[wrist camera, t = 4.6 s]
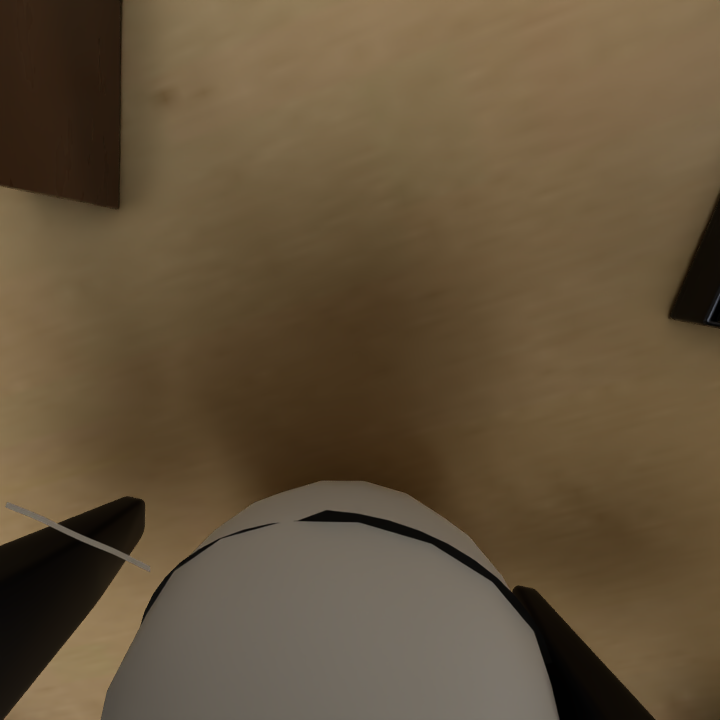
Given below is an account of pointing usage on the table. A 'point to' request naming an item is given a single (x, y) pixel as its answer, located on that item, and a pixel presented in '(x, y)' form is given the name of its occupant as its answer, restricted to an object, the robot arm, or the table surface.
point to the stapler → (702, 281)
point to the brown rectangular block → (60, 98)
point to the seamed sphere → (332, 620)
